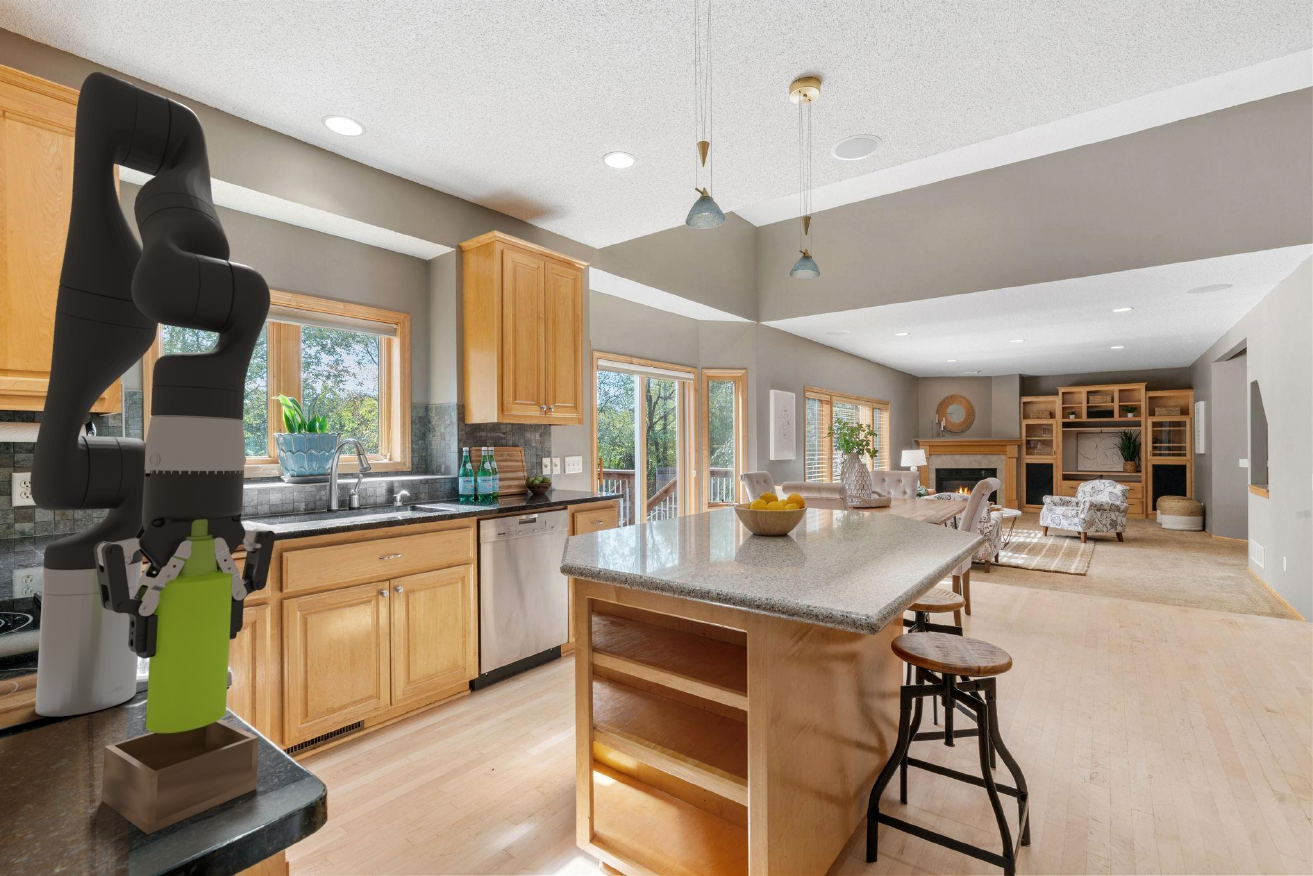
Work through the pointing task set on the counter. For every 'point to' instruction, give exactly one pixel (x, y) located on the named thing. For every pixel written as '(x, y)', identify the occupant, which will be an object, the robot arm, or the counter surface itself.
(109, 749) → the walnut caddy
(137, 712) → the counter surface
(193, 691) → the soap dispenser
